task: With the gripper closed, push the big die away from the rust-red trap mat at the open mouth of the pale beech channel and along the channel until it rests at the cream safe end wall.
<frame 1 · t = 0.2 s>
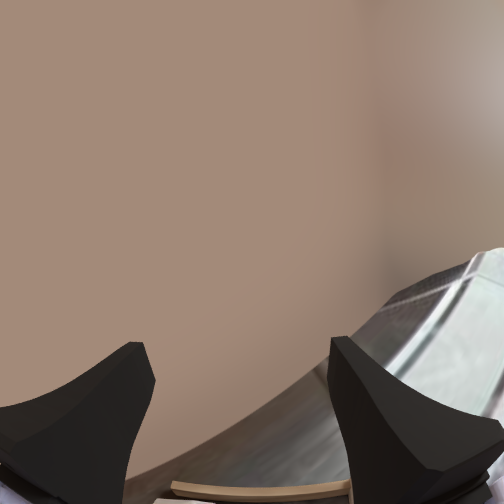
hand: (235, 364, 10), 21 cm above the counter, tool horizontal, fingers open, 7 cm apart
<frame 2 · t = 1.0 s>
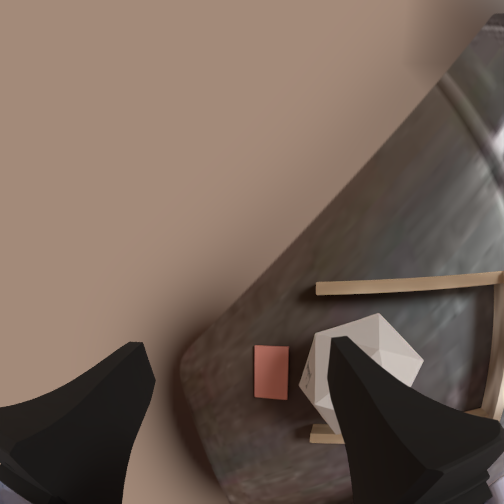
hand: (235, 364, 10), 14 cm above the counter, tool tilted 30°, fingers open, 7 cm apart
die: (357, 362, 21), on the counter
trap mat: (271, 372, 23), on the counter
channel: (412, 360, 20), on the counter
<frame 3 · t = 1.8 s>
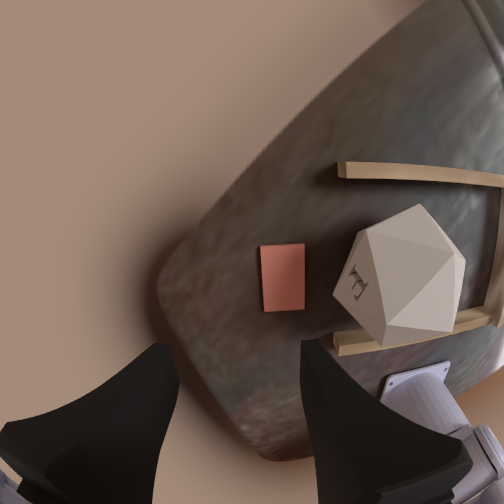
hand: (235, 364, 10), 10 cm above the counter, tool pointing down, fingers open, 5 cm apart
die: (380, 257, 20), on the counter
trap mat: (283, 278, 20), on the counter
channel: (433, 254, 19), on the counter
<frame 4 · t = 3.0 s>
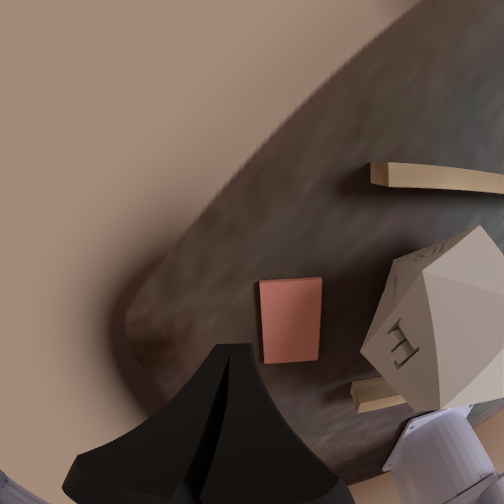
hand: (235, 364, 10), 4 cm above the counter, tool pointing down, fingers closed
die: (417, 290, 14), on the counter
trap mat: (291, 322, 14), on the counter
channel: (477, 283, 13), on the counter
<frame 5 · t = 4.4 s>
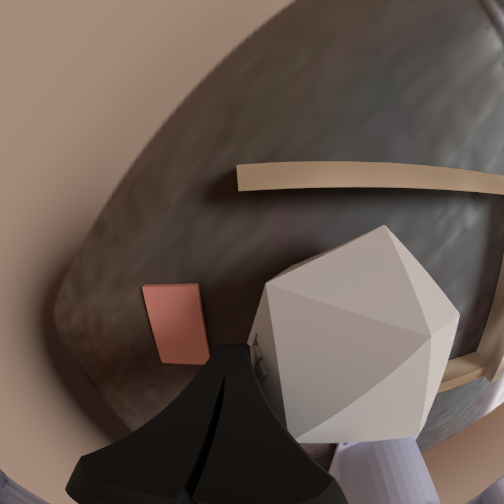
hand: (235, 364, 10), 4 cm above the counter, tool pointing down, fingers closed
die: (330, 299, 14), on the counter, touching gripper
trap mat: (178, 325, 15), on the counter
channel: (404, 295, 14), on the counter
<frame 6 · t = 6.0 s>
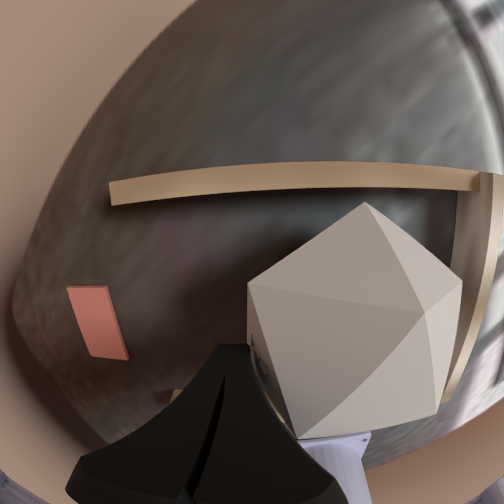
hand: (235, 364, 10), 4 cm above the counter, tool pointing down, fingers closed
die: (329, 286, 14), on the counter, touching gripper
trap mat: (98, 323, 15), on the counter
channel: (311, 304, 14), on the counter
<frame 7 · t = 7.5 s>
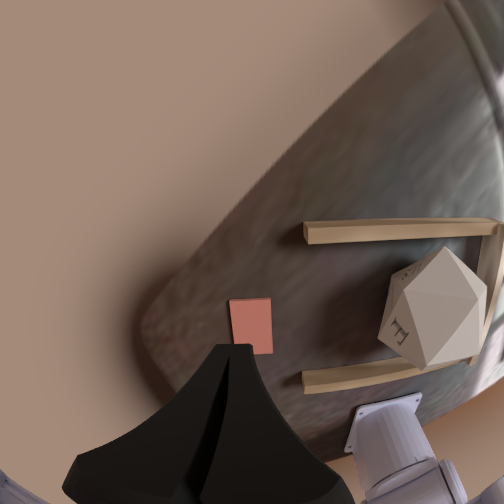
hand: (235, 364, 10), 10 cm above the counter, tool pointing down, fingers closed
die: (412, 290, 20), on the counter
trap mat: (252, 327, 21), on the counter
channel: (402, 302, 20), on the counter
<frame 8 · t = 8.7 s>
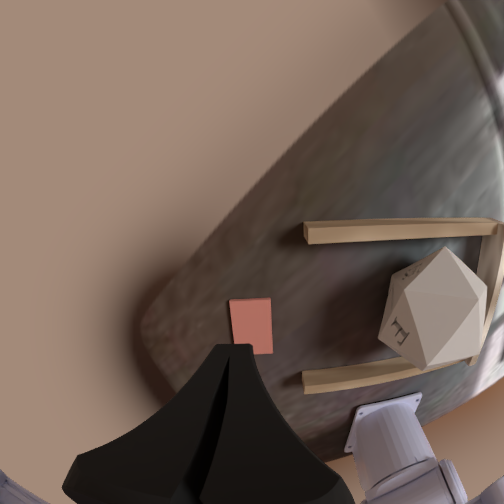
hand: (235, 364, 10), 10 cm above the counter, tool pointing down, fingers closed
die: (412, 290, 20), on the counter
trap mat: (252, 327, 21), on the counter
channel: (402, 302, 20), on the counter
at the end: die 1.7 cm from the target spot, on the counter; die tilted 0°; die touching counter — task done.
